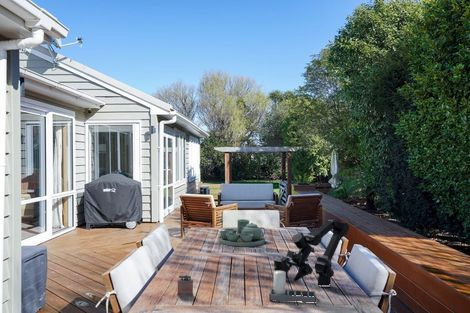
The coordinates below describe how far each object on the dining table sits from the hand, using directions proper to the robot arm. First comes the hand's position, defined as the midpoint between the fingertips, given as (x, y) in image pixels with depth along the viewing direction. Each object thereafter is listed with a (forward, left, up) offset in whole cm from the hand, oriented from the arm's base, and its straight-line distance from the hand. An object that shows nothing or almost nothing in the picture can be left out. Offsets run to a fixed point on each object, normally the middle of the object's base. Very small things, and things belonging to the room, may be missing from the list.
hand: (287, 278), depth 200 cm
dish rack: (-3, +4, -9) cm, 10 cm away
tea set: (+38, -128, -9) cm, 134 cm away
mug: (+4, -32, -9) cm, 33 cm away
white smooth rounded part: (+4, +4, -9) cm, 11 cm away
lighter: (+52, +8, -9) cm, 53 cm away
